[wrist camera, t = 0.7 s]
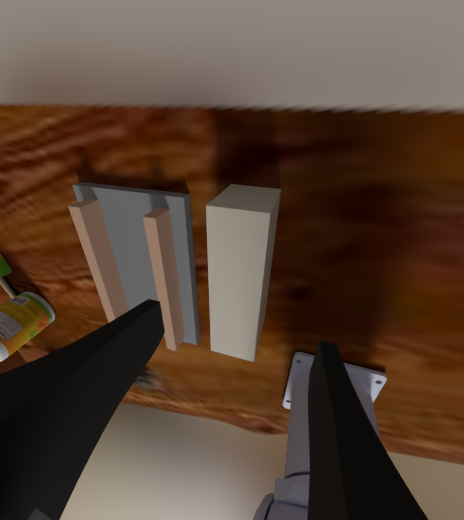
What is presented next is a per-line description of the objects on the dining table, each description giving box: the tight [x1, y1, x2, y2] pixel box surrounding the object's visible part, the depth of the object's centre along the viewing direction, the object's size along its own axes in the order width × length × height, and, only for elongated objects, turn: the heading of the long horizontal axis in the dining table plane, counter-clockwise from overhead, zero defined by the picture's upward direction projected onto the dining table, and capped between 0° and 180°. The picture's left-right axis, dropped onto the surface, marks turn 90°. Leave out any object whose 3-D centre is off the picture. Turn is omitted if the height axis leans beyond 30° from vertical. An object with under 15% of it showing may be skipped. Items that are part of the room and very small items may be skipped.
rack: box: [68, 182, 200, 351], centre depth 22 cm, size 16×10×3 cm, turn 179°
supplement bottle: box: [0, 292, 55, 362], centre depth 29 cm, size 5×5×10 cm
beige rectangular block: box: [206, 184, 281, 362], centre depth 18 cm, size 12×4×5 cm, turn 179°
